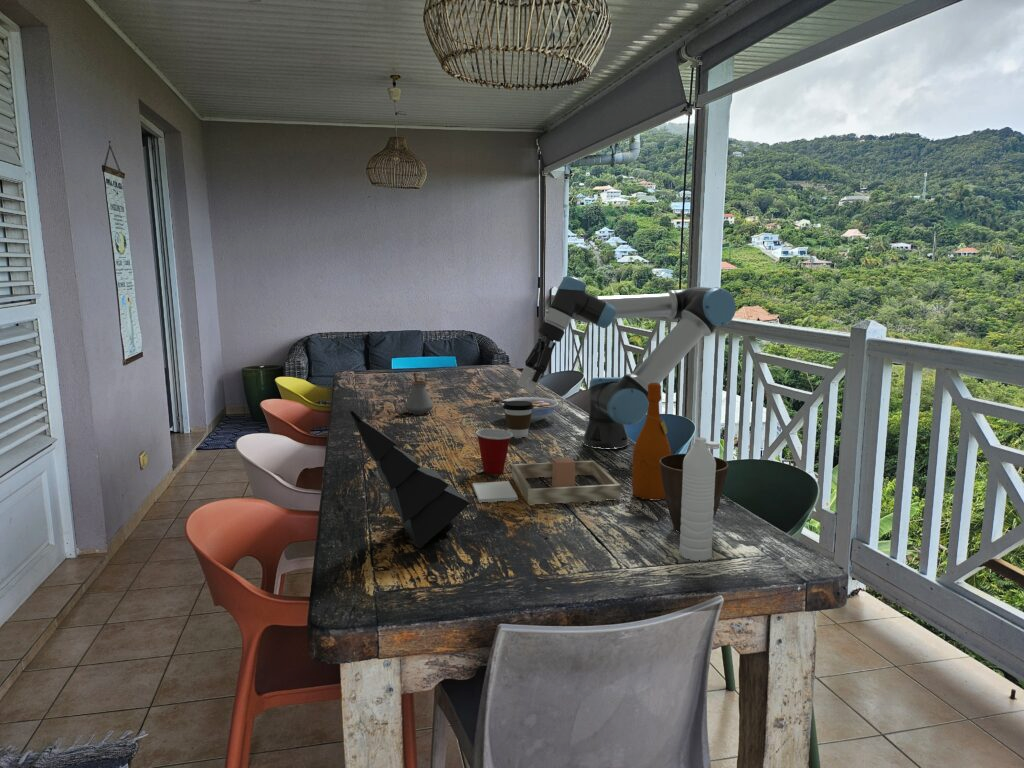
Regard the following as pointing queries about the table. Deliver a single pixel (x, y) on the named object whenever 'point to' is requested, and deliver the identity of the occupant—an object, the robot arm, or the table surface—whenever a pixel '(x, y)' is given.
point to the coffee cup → (518, 417)
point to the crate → (565, 494)
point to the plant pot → (673, 483)
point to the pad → (494, 491)
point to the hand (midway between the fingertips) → (524, 388)
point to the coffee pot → (419, 398)
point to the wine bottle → (650, 450)
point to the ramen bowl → (535, 406)
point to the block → (563, 472)
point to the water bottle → (698, 501)
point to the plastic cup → (493, 449)
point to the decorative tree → (412, 487)
